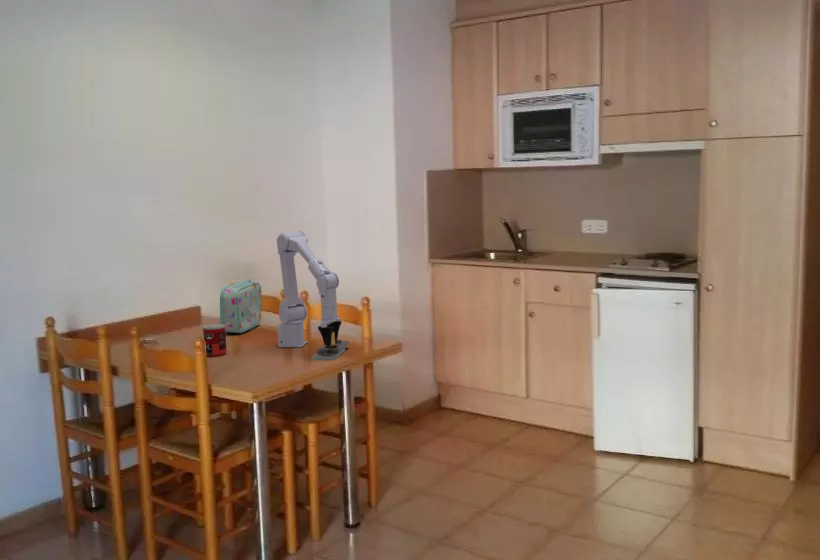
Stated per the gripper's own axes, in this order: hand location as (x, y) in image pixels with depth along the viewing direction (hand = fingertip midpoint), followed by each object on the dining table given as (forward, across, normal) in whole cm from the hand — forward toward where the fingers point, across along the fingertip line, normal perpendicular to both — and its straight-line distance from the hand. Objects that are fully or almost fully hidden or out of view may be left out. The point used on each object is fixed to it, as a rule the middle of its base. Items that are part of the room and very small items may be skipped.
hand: (330, 343), depth 298 cm
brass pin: (+4, 0, 0) cm, 4 cm away
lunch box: (+4, +43, +54) cm, 69 cm away
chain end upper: (+3, +3, 0) cm, 4 cm away
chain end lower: (+4, -3, 0) cm, 5 cm away
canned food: (+4, -4, +44) cm, 44 cm away
